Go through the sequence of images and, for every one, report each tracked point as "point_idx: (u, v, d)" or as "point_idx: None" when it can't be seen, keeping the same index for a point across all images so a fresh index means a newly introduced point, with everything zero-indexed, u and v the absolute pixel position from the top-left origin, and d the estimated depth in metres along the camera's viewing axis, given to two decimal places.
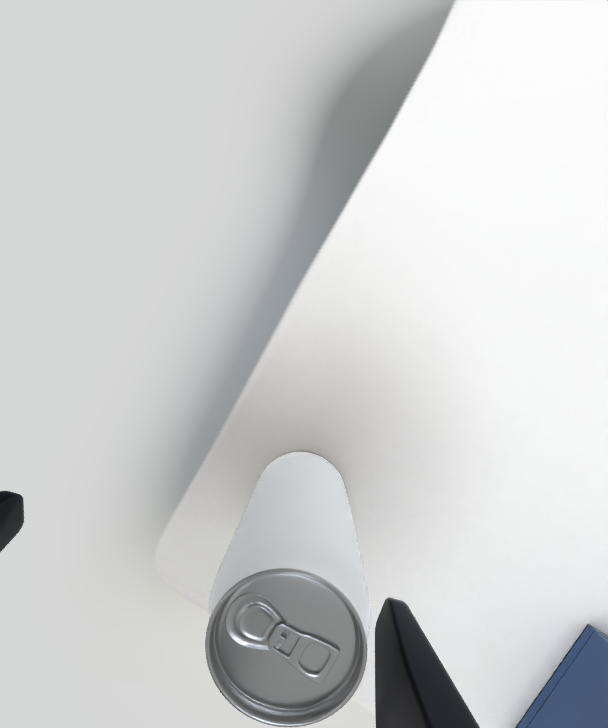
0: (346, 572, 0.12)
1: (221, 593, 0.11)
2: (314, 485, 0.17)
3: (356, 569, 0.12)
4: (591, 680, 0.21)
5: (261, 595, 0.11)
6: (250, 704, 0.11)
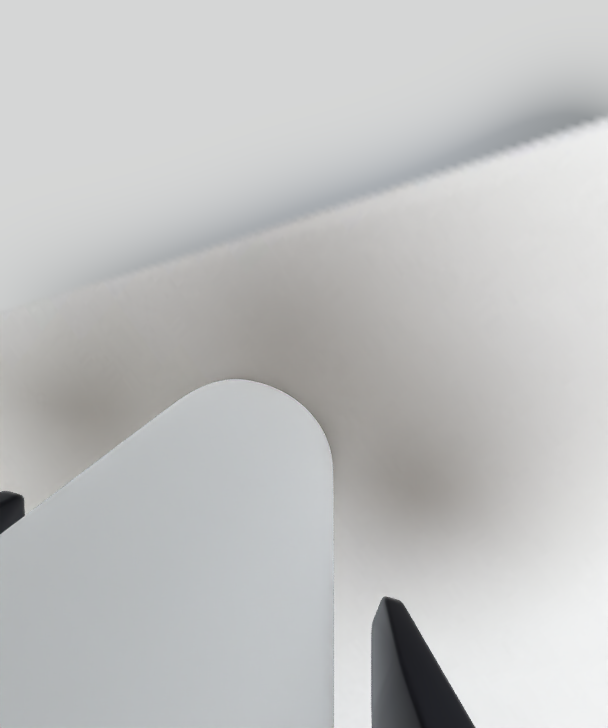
0: None
1: None
2: (315, 571, 0.05)
3: None
4: None
5: None
6: None
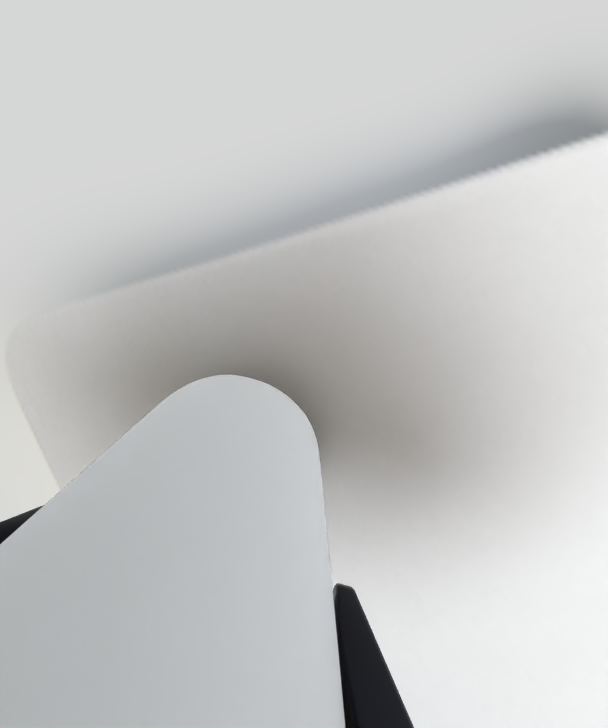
0: None
1: None
2: (316, 543, 0.06)
3: None
4: None
5: None
6: None
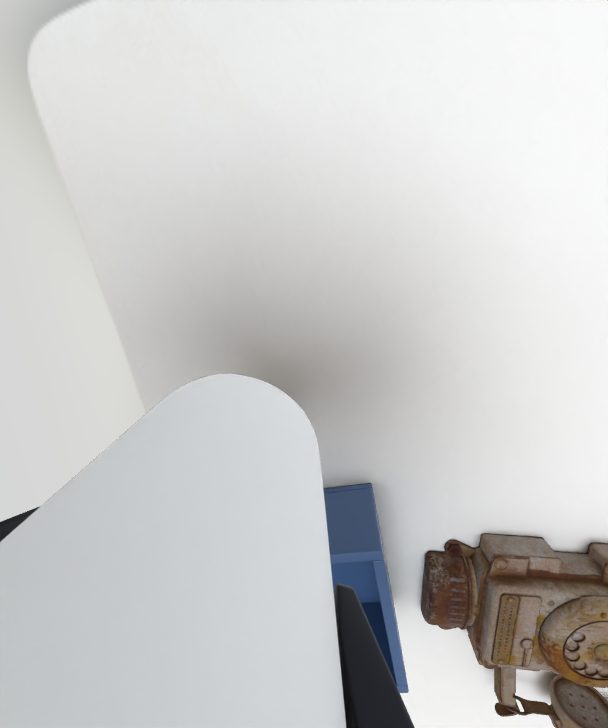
0: None
1: None
2: (316, 542, 0.06)
3: None
4: (333, 506, 0.20)
5: None
6: None
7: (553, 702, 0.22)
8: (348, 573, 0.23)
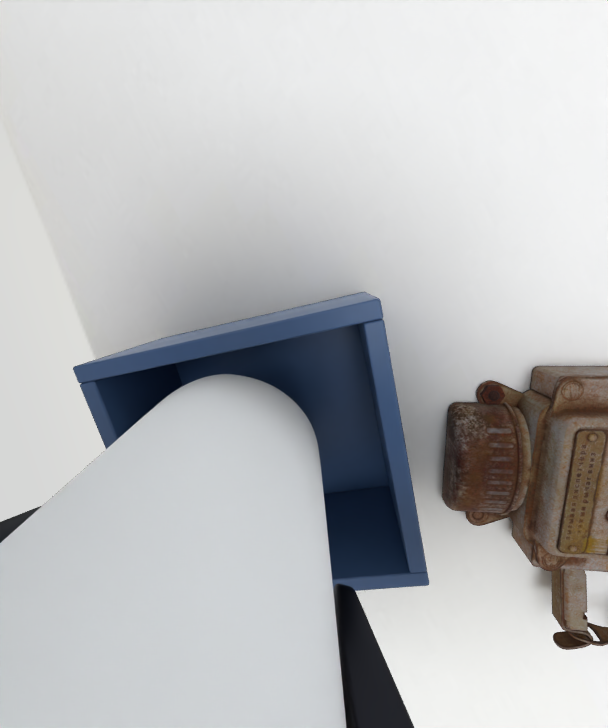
0: None
1: None
2: (317, 543, 0.06)
3: None
4: (305, 307, 0.13)
5: None
6: None
7: None
8: (335, 442, 0.16)
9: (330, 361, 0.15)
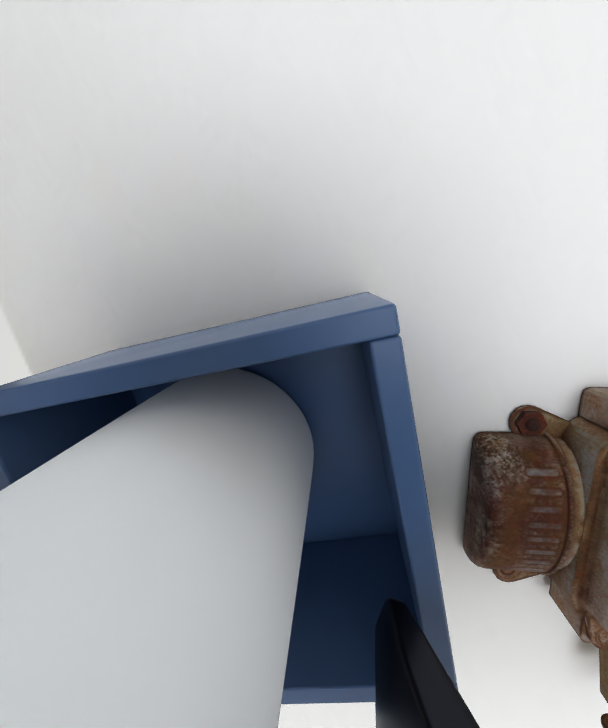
0: None
1: None
2: (277, 529, 0.06)
3: None
4: (289, 313, 0.09)
5: None
6: None
7: None
8: (330, 481, 0.12)
9: (323, 380, 0.11)
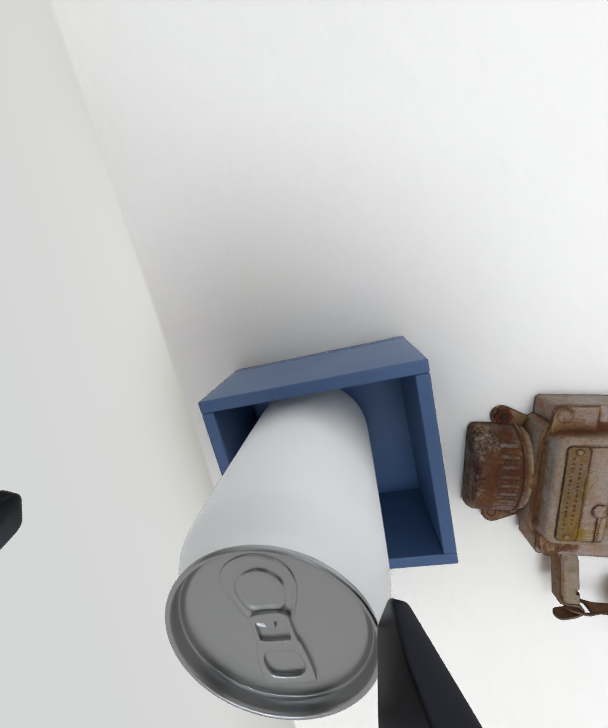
0: None
1: (245, 529, 0.08)
2: (370, 462, 0.13)
3: None
4: (360, 352, 0.16)
5: (292, 576, 0.08)
6: (180, 635, 0.09)
7: None
8: (376, 454, 0.19)
9: (374, 390, 0.18)
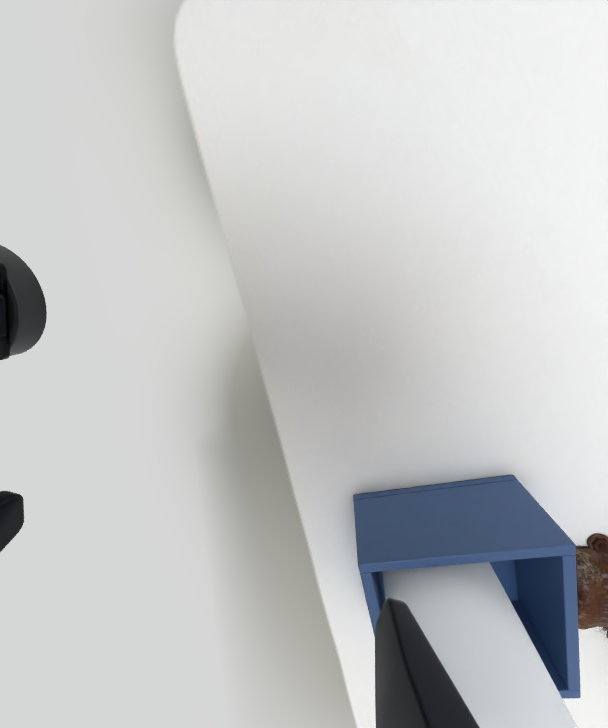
0: None
1: None
2: None
3: None
4: (484, 499, 0.18)
5: None
6: None
7: None
8: None
9: None
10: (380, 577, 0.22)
